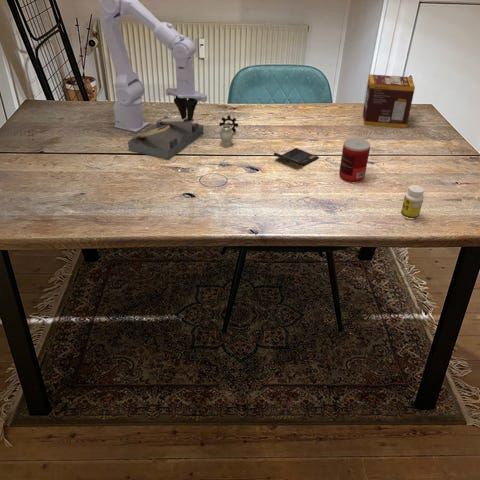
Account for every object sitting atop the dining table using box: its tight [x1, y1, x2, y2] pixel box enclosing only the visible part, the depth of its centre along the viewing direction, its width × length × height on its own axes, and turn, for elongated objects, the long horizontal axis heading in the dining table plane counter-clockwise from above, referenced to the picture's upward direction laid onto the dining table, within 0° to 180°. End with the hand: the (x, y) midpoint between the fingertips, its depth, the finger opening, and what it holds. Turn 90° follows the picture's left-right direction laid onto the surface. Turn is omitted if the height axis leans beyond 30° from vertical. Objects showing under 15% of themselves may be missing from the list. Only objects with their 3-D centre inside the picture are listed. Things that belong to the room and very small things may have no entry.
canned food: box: [338, 137, 371, 183], centre depth 158 cm, size 8×8×11 cm
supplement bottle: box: [400, 184, 425, 219], centre depth 141 cm, size 5×5×8 cm
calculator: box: [273, 147, 320, 168], centre depth 169 cm, size 9×12×3 cm
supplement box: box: [362, 73, 416, 129], centre depth 193 cm, size 10×15×16 cm
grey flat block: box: [127, 115, 204, 161], centre depth 177 cm, size 15×23×5 cm, turn 155°
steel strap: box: [160, 117, 195, 124], centre depth 180 cm, size 12×3×1 cm, turn 65°
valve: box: [218, 114, 239, 148], centre depth 178 cm, size 7×7×12 cm
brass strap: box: [137, 124, 170, 138], centre depth 169 cm, size 12×3×1 cm, turn 65°
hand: (187, 118), depth 178 cm, fingers closed
